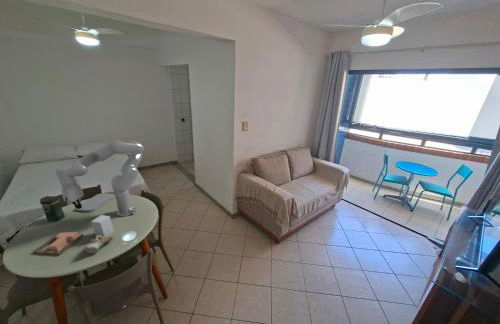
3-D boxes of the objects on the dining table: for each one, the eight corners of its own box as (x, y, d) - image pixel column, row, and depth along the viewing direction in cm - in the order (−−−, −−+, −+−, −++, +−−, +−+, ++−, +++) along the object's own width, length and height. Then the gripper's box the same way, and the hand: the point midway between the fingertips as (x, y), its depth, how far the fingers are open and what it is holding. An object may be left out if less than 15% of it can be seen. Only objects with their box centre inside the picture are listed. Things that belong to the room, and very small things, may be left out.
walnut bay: (83, 236, 128) (83, 234, 127) (59, 255, 113) (58, 253, 112) (60, 234, 129) (60, 232, 128) (33, 253, 114) (32, 251, 113)
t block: (78, 236, 127) (76, 232, 126) (63, 250, 116) (61, 245, 114) (62, 237, 126) (60, 232, 125) (45, 251, 115) (43, 246, 114)
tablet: (73, 211, 154) (72, 209, 153) (99, 195, 178) (99, 193, 177) (92, 212, 153) (92, 210, 152) (116, 196, 177) (115, 194, 176)
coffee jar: (67, 216, 148) (59, 195, 141) (56, 222, 140) (48, 200, 134) (56, 214, 148) (48, 194, 142) (45, 221, 141) (36, 199, 135)
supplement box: (114, 231, 133) (110, 216, 128) (104, 238, 126) (100, 223, 122) (105, 229, 134) (101, 214, 130) (95, 237, 127) (90, 221, 123)
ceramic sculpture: (76, 244, 109) (96, 228, 124) (79, 257, 112) (98, 239, 126) (94, 245, 109) (112, 228, 124) (97, 257, 112) (115, 240, 126)
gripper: (74, 179, 132) (83, 201, 139) (52, 190, 118) (63, 214, 125) (84, 179, 131) (93, 202, 138) (63, 190, 118) (74, 215, 124)
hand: (79, 208), depth 132 cm, fingers closed
